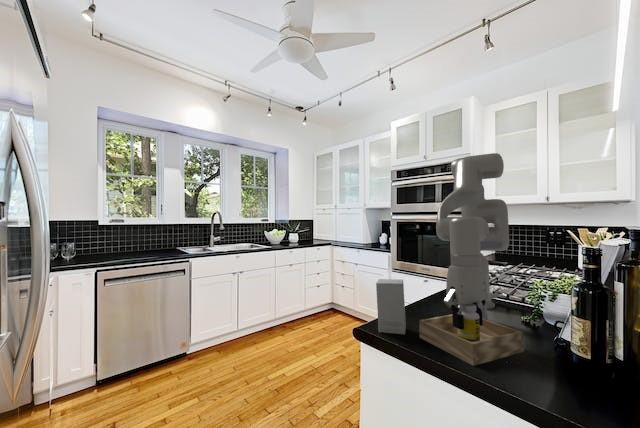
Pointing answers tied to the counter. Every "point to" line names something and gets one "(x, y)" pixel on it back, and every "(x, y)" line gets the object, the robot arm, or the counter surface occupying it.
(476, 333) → the supplement bottle
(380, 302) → the skincare box
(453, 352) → the crate
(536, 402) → the counter surface
